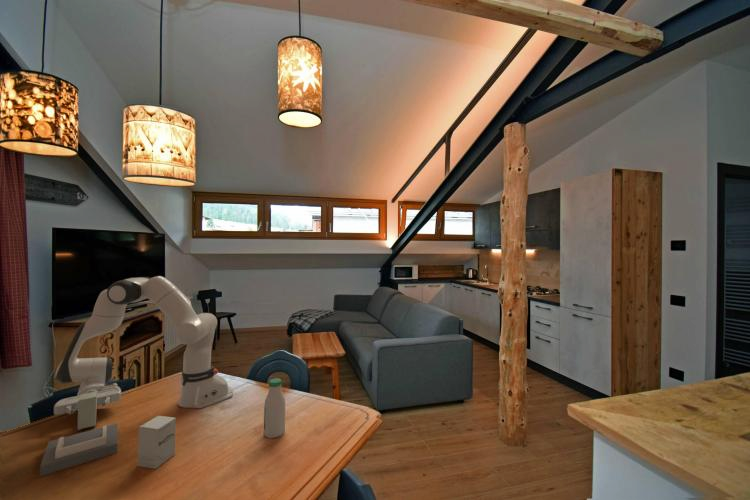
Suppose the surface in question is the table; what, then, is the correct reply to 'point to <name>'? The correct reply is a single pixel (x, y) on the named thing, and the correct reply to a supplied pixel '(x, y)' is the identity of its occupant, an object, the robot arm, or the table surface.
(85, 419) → the pale green footed pillar
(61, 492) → the table surface
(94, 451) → the dock
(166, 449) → the supplement box
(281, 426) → the milk bottle
